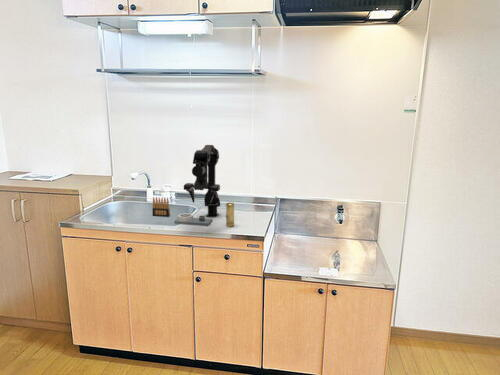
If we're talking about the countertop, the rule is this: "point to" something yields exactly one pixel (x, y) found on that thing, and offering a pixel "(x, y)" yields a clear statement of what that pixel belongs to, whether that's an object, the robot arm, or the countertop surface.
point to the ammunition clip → (161, 208)
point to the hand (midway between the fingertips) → (202, 202)
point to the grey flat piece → (192, 220)
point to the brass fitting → (230, 214)
